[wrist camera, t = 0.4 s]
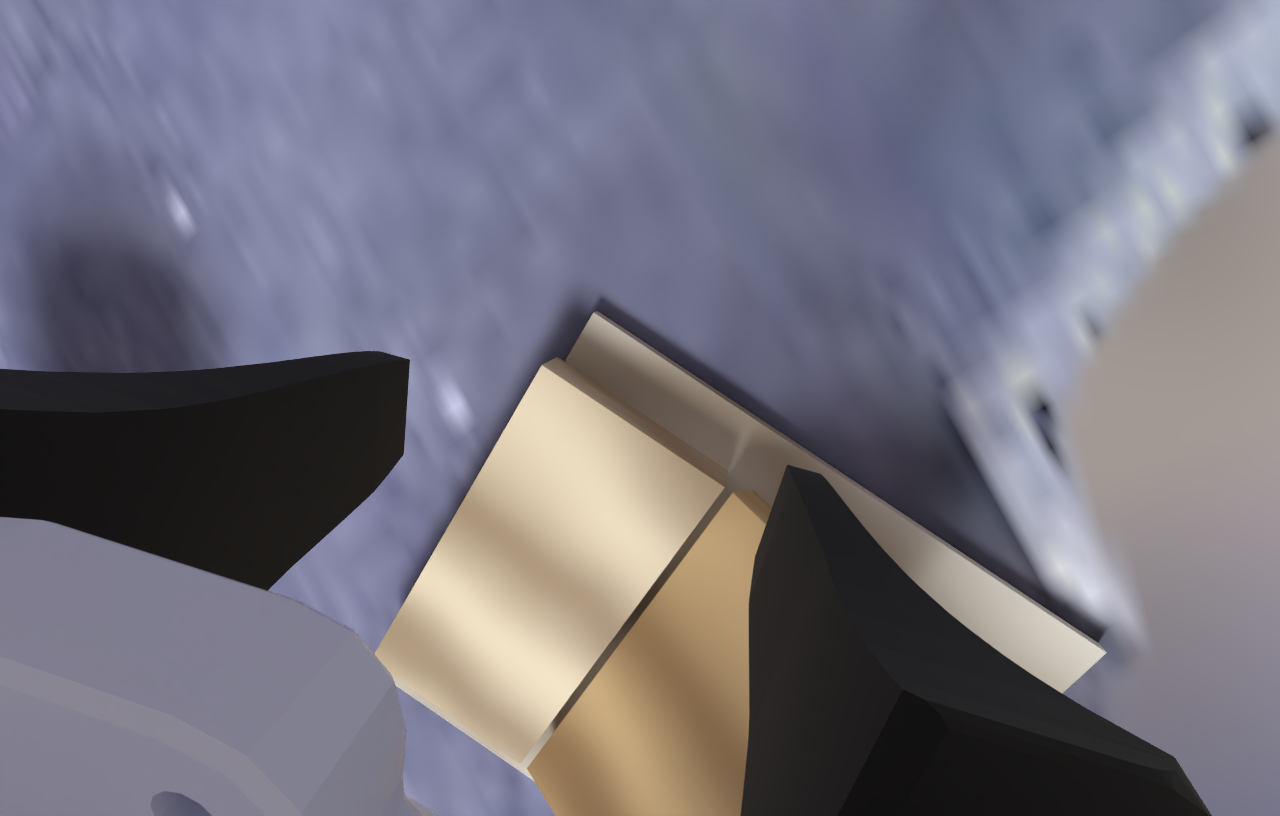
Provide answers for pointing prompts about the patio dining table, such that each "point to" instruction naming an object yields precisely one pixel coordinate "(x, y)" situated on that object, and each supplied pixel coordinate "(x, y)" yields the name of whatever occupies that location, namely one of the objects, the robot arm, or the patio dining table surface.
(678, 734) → the plank
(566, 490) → the floor section
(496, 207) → the patio dining table surface
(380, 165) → the patio dining table surface
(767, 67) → the patio dining table surface
